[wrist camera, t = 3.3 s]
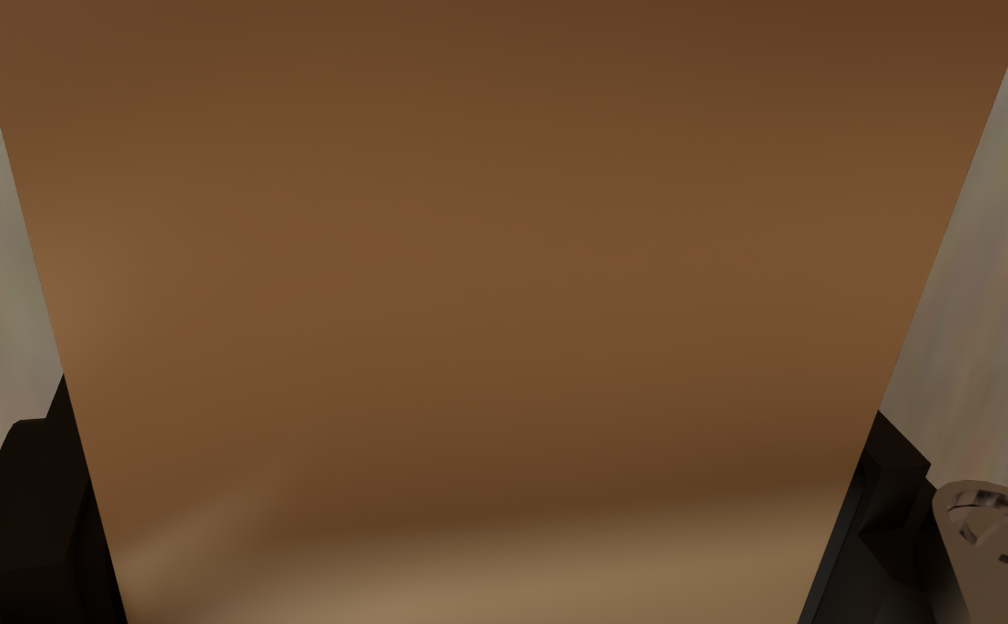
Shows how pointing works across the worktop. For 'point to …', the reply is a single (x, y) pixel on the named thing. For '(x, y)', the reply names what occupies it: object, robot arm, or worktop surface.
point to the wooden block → (483, 289)
